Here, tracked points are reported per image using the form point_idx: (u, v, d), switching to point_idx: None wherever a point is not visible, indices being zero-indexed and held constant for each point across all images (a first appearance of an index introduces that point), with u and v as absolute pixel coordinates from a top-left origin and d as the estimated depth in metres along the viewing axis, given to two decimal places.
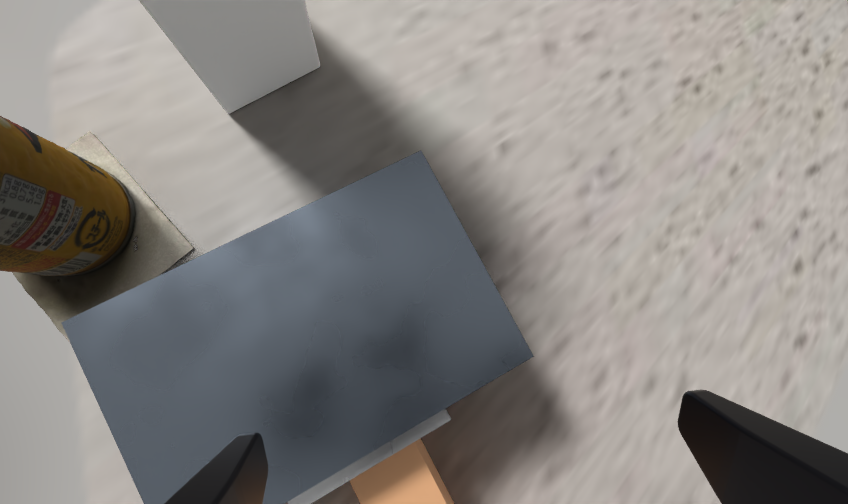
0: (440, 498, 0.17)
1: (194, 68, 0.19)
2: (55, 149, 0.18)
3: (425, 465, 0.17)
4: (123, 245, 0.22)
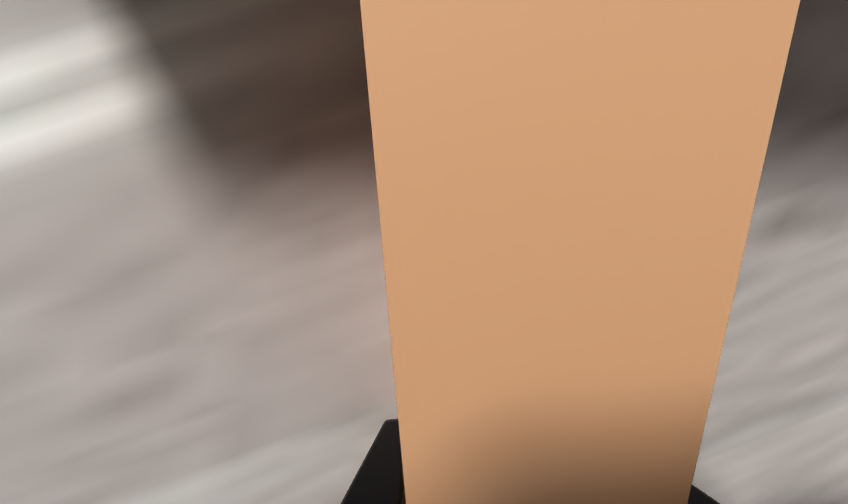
0: (685, 460, 0.04)
1: None
2: None
3: (720, 338, 0.04)
4: None
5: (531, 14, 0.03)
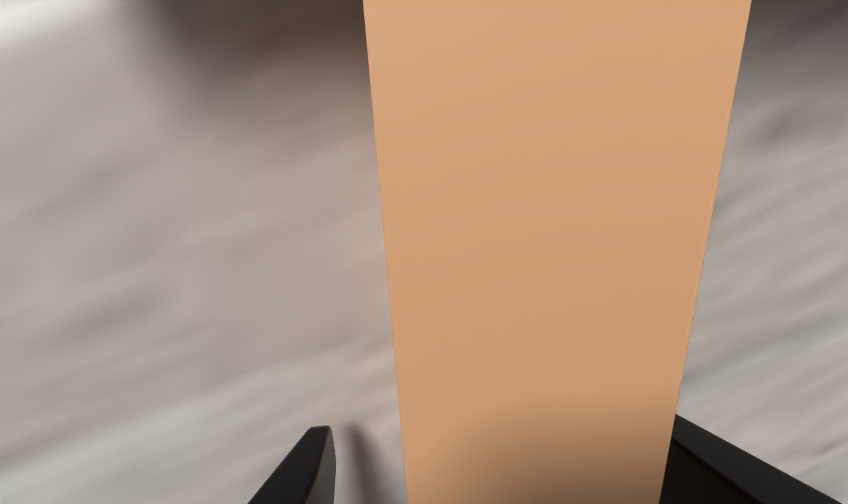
0: (660, 436, 0.05)
1: None
2: None
3: (688, 322, 0.04)
4: None
5: (511, 35, 0.03)
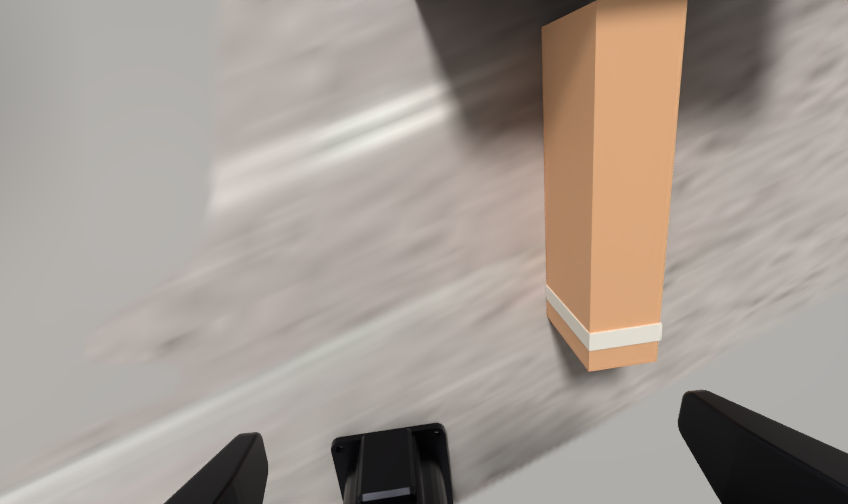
0: (663, 246, 0.16)
1: None
2: None
3: (668, 210, 0.16)
4: None
5: (624, 144, 0.15)
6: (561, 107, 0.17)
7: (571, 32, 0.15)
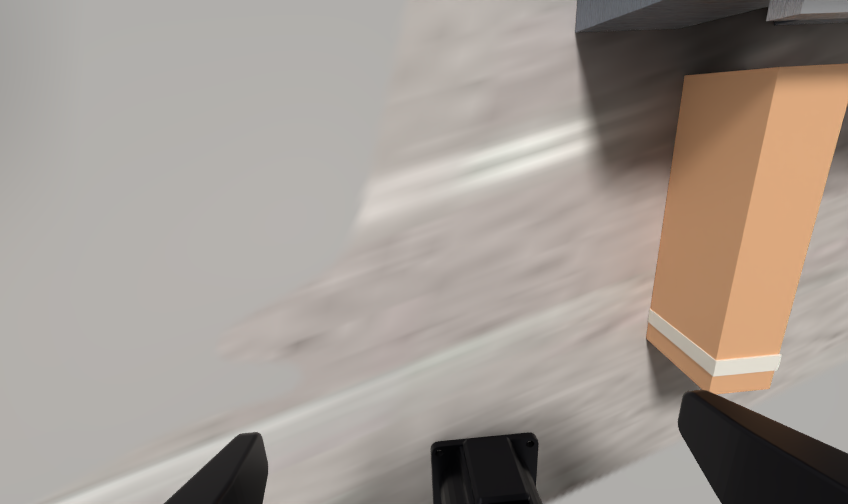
0: (794, 286, 0.18)
1: None
2: None
3: (805, 254, 0.17)
4: None
5: (778, 193, 0.16)
6: (705, 151, 0.19)
7: (732, 87, 0.17)
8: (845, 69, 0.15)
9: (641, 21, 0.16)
